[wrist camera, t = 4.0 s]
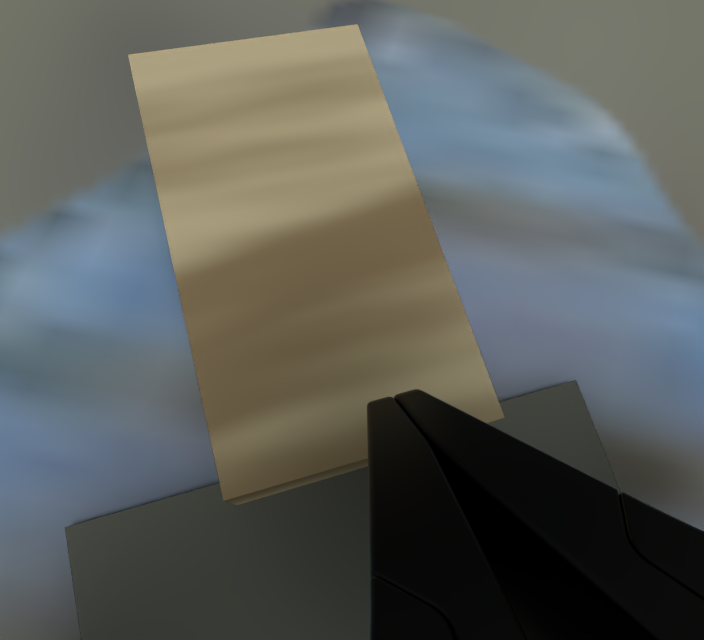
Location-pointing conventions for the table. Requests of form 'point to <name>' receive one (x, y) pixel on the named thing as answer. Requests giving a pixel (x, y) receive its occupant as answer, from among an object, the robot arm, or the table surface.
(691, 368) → the table surface
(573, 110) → the table surface
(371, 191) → the maple block
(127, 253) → the table surface
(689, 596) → the robot arm
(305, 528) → the rubber mat
